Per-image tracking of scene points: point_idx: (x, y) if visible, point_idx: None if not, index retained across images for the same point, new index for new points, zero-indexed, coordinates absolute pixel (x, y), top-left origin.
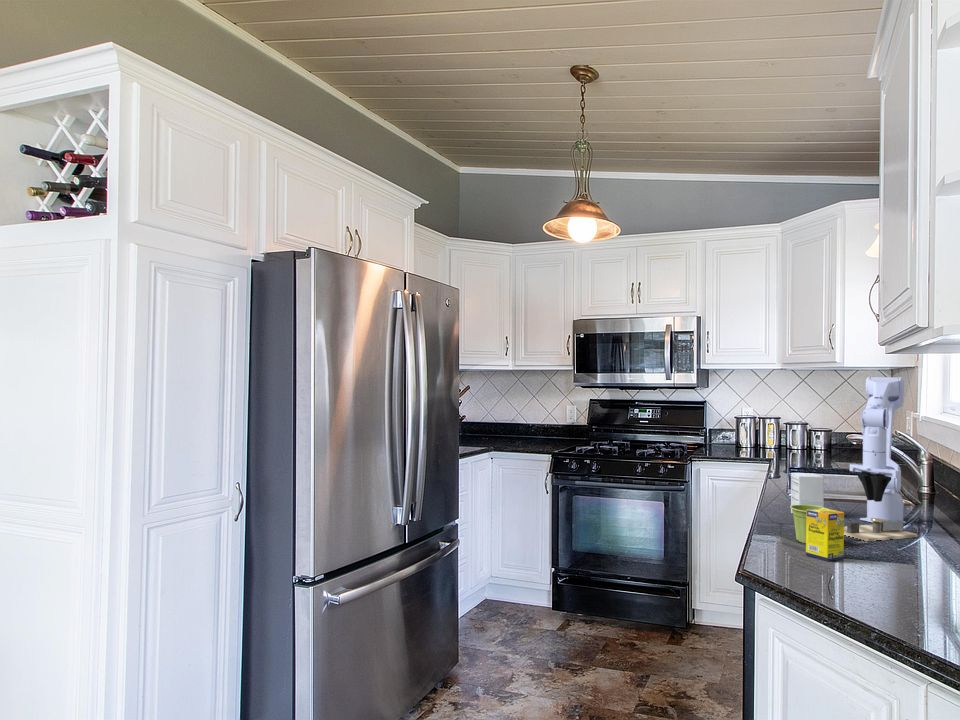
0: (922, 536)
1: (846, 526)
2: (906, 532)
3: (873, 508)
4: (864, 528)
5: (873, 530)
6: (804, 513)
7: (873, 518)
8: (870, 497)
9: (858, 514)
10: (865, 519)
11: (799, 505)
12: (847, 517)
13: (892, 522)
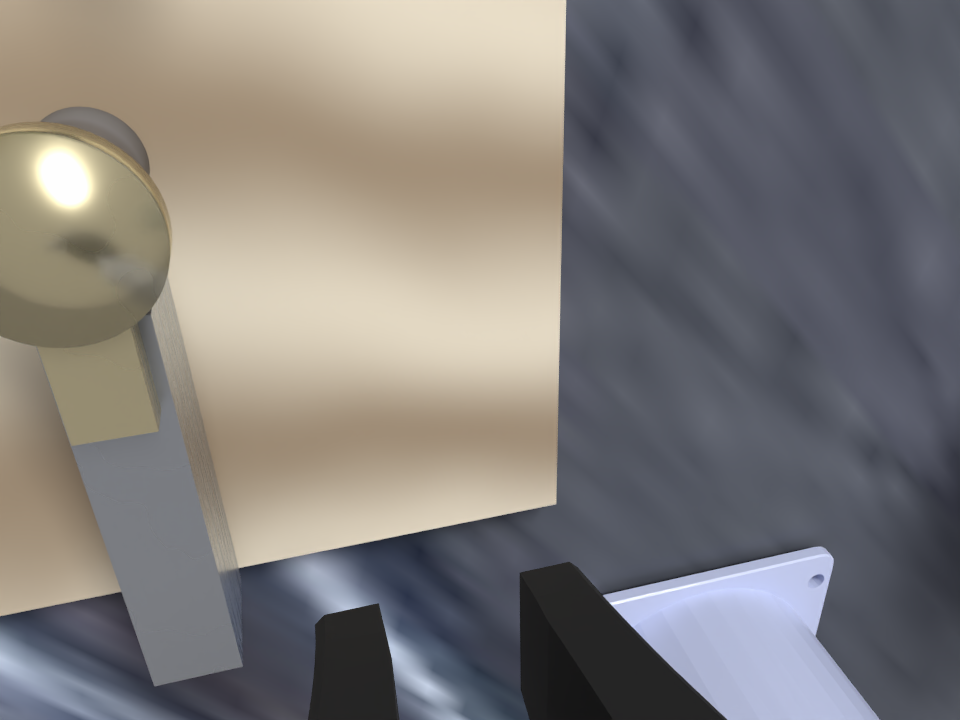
0: (13, 667)
1: (565, 12)
2: (60, 565)
3: (764, 709)
4: (379, 194)
5: (80, 114)
6: None
7: (96, 215)
8: (541, 657)
9: (957, 664)
10: (773, 571)
11: None
12: (949, 514)
13: (95, 512)
